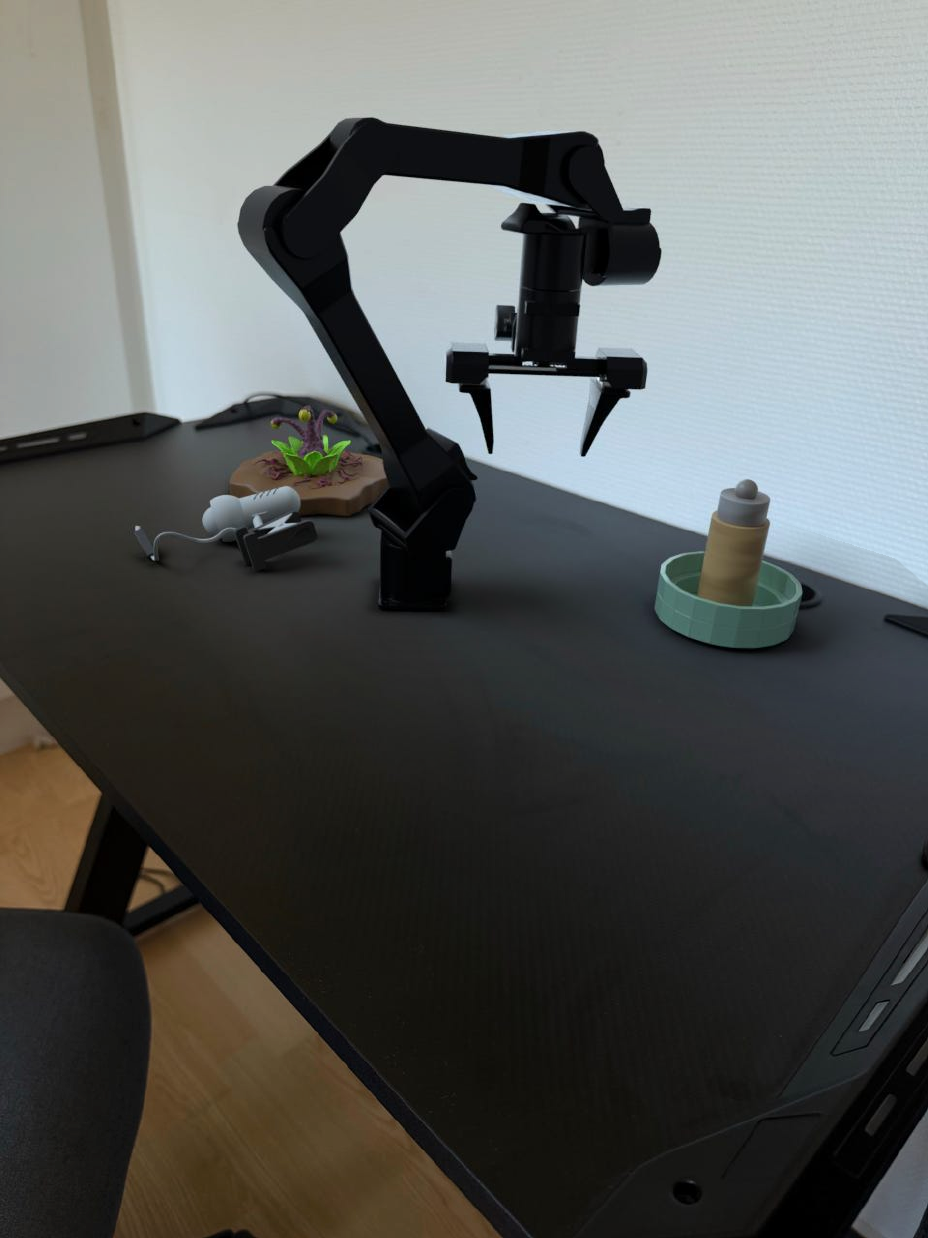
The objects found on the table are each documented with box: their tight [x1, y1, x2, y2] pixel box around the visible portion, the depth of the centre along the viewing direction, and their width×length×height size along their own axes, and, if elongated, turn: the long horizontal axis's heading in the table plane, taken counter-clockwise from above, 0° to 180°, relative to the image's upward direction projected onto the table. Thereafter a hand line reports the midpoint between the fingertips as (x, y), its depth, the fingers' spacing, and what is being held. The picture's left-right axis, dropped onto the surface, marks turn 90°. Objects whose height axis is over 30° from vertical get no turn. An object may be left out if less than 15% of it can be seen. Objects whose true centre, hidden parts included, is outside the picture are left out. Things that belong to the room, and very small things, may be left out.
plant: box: [229, 405, 389, 518], centre depth 112 cm, size 20×20×11 cm
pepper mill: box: [697, 478, 771, 607], centre depth 83 cm, size 5×5×14 cm
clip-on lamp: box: [133, 486, 318, 572], centre depth 95 cm, size 12×6×18 cm
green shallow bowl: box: [654, 550, 803, 649], centre depth 86 cm, size 13×13×4 cm
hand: (536, 454), depth 88 cm, fingers open, 9 cm apart
